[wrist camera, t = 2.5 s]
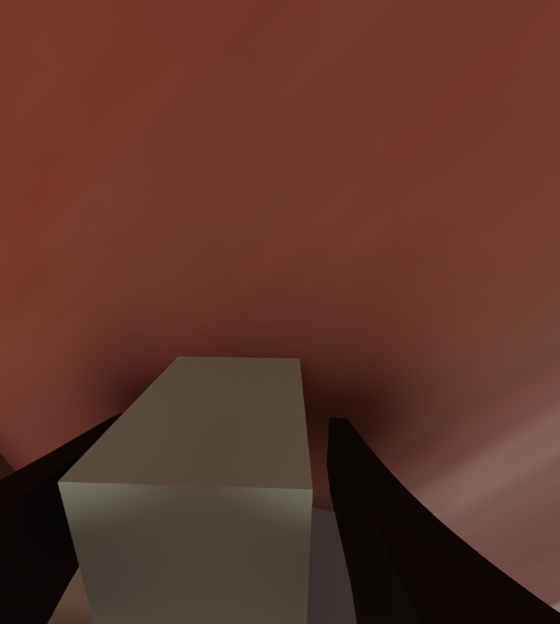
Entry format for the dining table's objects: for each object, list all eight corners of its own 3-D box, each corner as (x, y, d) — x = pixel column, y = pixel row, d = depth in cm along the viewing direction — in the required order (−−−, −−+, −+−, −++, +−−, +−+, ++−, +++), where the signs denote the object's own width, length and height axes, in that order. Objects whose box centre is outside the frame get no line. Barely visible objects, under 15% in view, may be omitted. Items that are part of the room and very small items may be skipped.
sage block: (296, 459, 12) (305, 655, 6) (188, 456, 12) (99, 647, 7) (299, 357, 11) (312, 489, 5) (178, 355, 11) (57, 481, 5)
